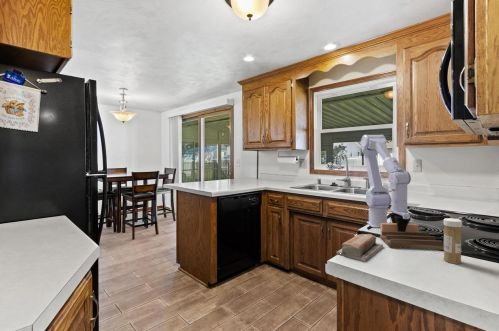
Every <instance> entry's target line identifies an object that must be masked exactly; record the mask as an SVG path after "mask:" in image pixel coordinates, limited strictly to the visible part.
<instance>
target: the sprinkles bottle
mask: <svg viewBox="0 0 499 331" xmlns="http://www.w3.org/2000/svg"><path fill="white" fill-rule="evenodd" d="M462 227H463V221H462V220H460V219H458V218H452V217H451V218H448V217H446V218H444V219H443V245H444V250H443V261H445V262H446V263H449V264H454V265H456V264H457V265H458V264H461V263H462Z"/></svg>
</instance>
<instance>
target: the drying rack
mask: <svg viewBox="0 0 499 331" xmlns="http://www.w3.org/2000/svg"><path fill="white" fill-rule="evenodd" d="M379 235H380V236H379V238H380V240H381V241H382V242H383V243H384V244H385V245H386V246H387V247H388V248H389V249H409V250H410V249H413V250H429V251H430V250H433V251H434V250H436V251H444V240H442V239H441V240H439V239H438V240H437V239H436V237H437V236H433V235H432V236H431V235H430V232H423V231H422V232H421V231H419V232H395V231H382V235H381V234H379Z"/></svg>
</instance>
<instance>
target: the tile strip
mask: <svg viewBox="0 0 499 331" xmlns="http://www.w3.org/2000/svg"><path fill="white" fill-rule="evenodd" d="M382 231H395V232H398V227H397V223H392V222H387V223H380V233H381V234H382ZM405 232H420V225H419V224H417V223H410V222H409V223H408V225H407V228H406V231H405ZM381 234H380V235H381Z"/></svg>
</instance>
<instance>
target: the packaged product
mask: <svg viewBox="0 0 499 331" xmlns="http://www.w3.org/2000/svg"><path fill="white" fill-rule="evenodd" d="M383 247H384V244H383V243H381V242H377V236H375V235H373V234H370V233H367V234H366V233H361V234H357V235H355V236H354V237H352V238H350V239H348V240H347V241H345V242H343V243H342V244H341V248H340V249H339V250H337V251H336V252H335V254H336V255H338V256H343V257H346V258H349V257H350V258H349V259H352V260H357V261H361V262H366V261H368V260H369V259H370V258H371V257H373V256H374V255H376V254H377V253H378V252H379V251H380V250H382V248H383ZM340 253H341V254H340Z"/></svg>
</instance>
